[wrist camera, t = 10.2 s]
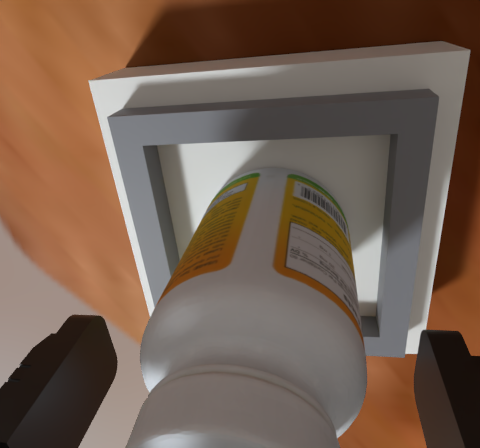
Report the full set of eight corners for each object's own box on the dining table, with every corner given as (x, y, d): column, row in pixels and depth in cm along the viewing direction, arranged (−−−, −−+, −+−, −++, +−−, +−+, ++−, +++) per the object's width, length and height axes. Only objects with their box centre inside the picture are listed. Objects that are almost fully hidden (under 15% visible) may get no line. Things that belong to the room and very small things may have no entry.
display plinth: (124, 68, 16) (70, 87, 13) (442, 40, 14) (485, 55, 10) (175, 300, 22) (147, 360, 18) (407, 307, 20) (428, 376, 16)
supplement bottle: (210, 281, 17) (107, 550, 9) (202, 160, 14) (44, 380, 6) (340, 292, 16) (363, 604, 8) (357, 166, 14) (417, 431, 5)
